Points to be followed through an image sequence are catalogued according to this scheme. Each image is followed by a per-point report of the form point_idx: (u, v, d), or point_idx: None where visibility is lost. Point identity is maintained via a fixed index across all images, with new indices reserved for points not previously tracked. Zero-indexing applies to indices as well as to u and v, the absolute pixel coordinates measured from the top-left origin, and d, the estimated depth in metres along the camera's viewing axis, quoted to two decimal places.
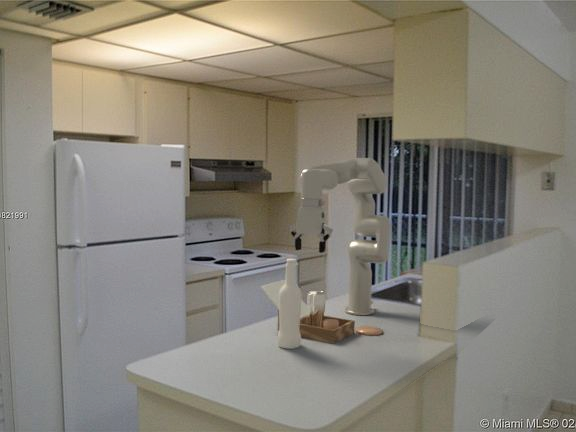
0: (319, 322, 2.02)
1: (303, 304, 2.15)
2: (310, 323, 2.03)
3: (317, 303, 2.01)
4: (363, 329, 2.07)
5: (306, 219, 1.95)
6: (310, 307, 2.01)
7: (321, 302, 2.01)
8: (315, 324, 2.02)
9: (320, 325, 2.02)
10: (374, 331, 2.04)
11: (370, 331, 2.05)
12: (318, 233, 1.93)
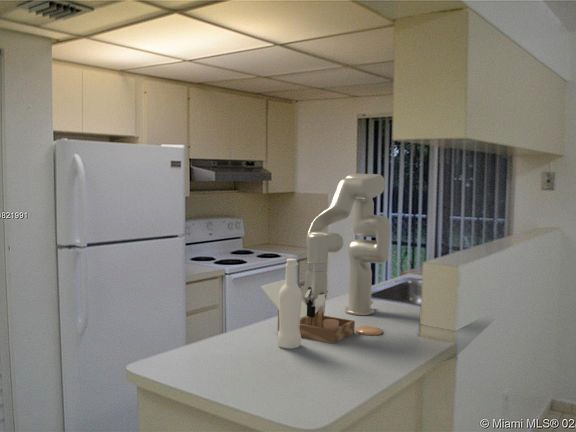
0: (319, 322, 2.02)
1: (303, 304, 2.15)
2: (310, 323, 2.03)
3: (317, 303, 2.01)
4: (363, 329, 2.07)
5: (322, 283, 2.02)
6: None
7: (321, 302, 2.01)
8: (315, 324, 2.02)
9: (320, 325, 2.02)
10: (374, 331, 2.04)
11: (370, 331, 2.05)
12: (326, 293, 2.06)
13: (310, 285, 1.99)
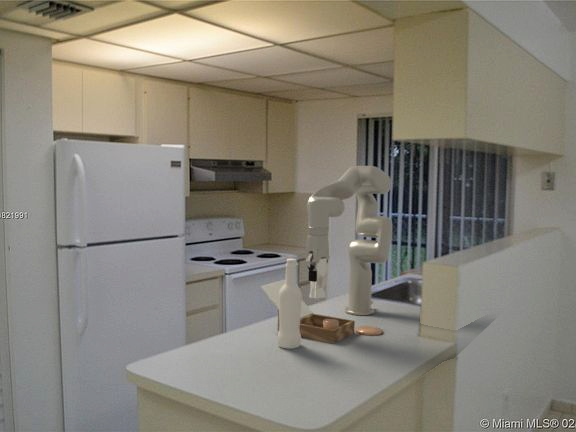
0: (321, 286, 2.02)
1: (303, 304, 2.15)
2: (312, 288, 2.02)
3: (319, 267, 2.00)
4: (363, 329, 2.07)
5: (323, 247, 2.01)
6: None
7: (323, 266, 2.00)
8: (317, 288, 2.01)
9: (322, 289, 2.02)
10: (374, 331, 2.04)
11: (370, 331, 2.05)
12: (327, 258, 2.06)
13: (311, 249, 1.98)
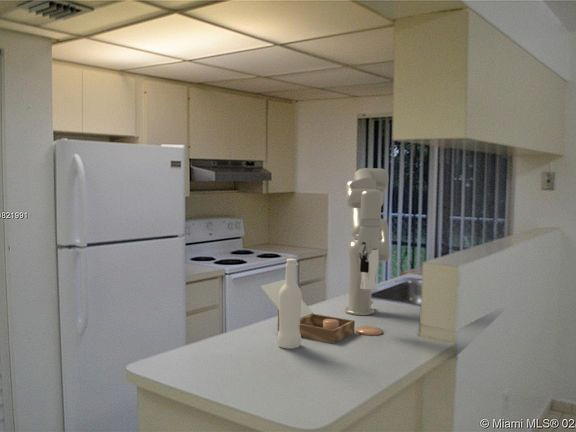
0: (372, 277, 2.03)
1: (303, 304, 2.15)
2: (363, 279, 2.04)
3: (371, 258, 2.02)
4: (363, 329, 2.07)
5: (375, 239, 2.03)
6: None
7: (375, 257, 2.02)
8: (368, 279, 2.03)
9: (373, 281, 2.04)
10: (374, 331, 2.04)
11: (370, 331, 2.05)
12: (378, 250, 2.07)
13: (364, 240, 2.00)
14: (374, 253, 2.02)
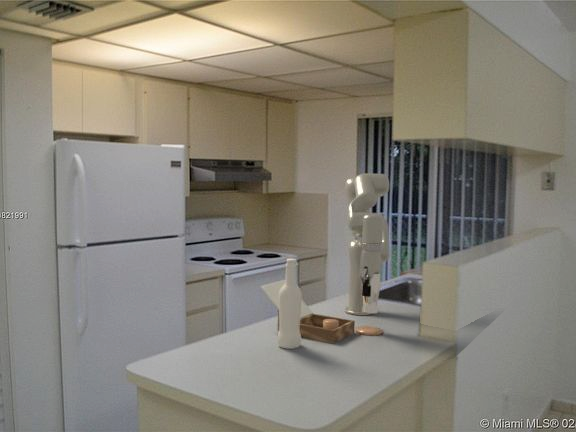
0: (374, 301, 2.04)
1: (303, 304, 2.15)
2: (365, 302, 2.04)
3: (373, 283, 2.02)
4: (363, 329, 2.07)
5: (377, 263, 2.04)
6: None
7: (377, 281, 2.03)
8: (370, 303, 2.04)
9: (375, 304, 2.04)
10: (374, 331, 2.04)
11: (370, 331, 2.05)
12: (380, 273, 2.08)
13: (366, 264, 2.01)
14: (376, 277, 2.03)
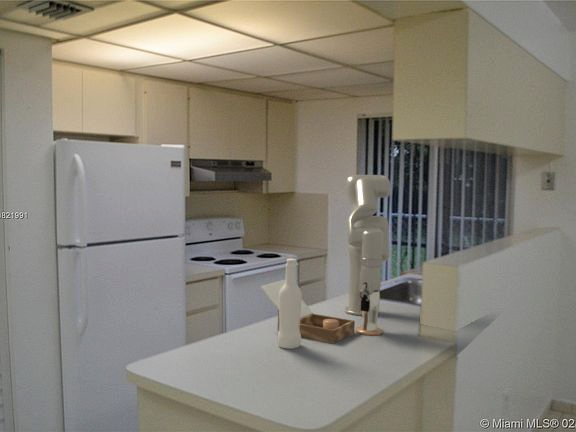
0: (374, 319, 2.05)
1: (303, 304, 2.15)
2: (365, 320, 2.05)
3: (372, 301, 2.03)
4: None
5: (376, 278, 2.04)
6: None
7: (376, 300, 2.04)
8: (370, 321, 2.04)
9: (375, 322, 2.05)
10: (374, 331, 2.04)
11: None
12: (379, 289, 2.09)
13: (366, 280, 2.01)
14: (375, 295, 2.04)
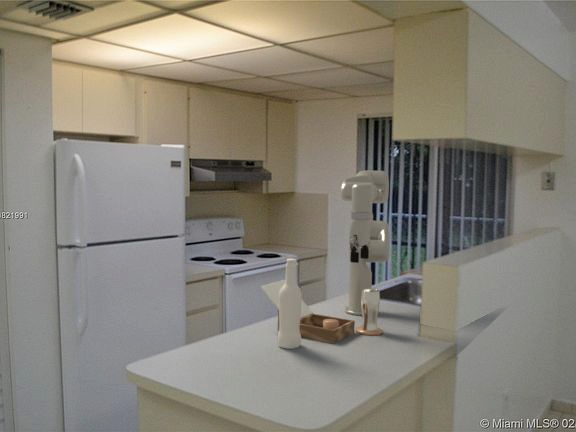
0: (374, 319, 2.05)
1: (303, 304, 2.15)
2: (365, 320, 2.05)
3: (372, 301, 2.03)
4: None
5: (366, 231, 2.08)
6: (365, 304, 2.04)
7: (376, 300, 2.04)
8: (370, 321, 2.04)
9: (375, 322, 2.05)
10: (374, 331, 2.04)
11: None
12: (369, 241, 2.12)
13: (355, 233, 2.05)
14: (375, 295, 2.04)
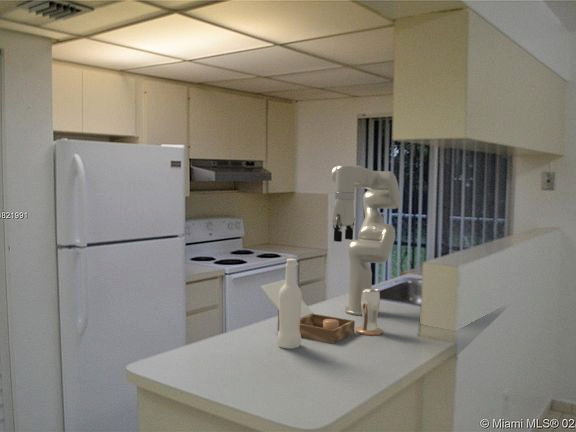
0: (374, 319, 2.05)
1: (303, 304, 2.15)
2: (365, 320, 2.05)
3: (372, 301, 2.03)
4: None
5: (349, 211, 2.13)
6: (365, 304, 2.04)
7: (376, 300, 2.04)
8: (370, 321, 2.04)
9: (375, 322, 2.05)
10: (374, 331, 2.04)
11: None
12: (353, 222, 2.18)
13: (339, 212, 2.11)
14: (375, 295, 2.04)
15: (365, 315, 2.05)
